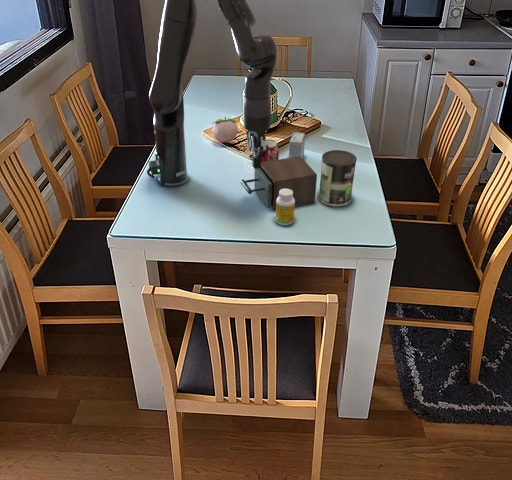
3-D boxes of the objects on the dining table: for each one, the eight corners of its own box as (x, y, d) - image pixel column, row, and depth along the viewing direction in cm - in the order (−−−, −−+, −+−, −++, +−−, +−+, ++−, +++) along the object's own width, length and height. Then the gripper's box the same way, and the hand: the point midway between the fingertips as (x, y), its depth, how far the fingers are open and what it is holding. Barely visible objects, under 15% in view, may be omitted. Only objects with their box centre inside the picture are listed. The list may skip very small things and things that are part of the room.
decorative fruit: (218, 149, 206) (217, 123, 200) (210, 140, 212) (209, 114, 205) (242, 145, 209) (242, 119, 203) (233, 136, 215) (233, 111, 209)
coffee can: (356, 195, 181) (362, 155, 172) (342, 210, 174) (347, 168, 165) (327, 187, 185) (331, 146, 177) (312, 200, 178) (316, 159, 170)
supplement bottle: (277, 226, 166) (278, 197, 160) (273, 216, 170) (275, 187, 165) (295, 225, 167) (297, 195, 161) (291, 215, 171) (293, 186, 165)
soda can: (262, 183, 186) (263, 149, 179) (252, 174, 191) (253, 141, 184) (281, 179, 189) (283, 145, 182) (271, 170, 194) (272, 137, 187)
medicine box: (300, 166, 197) (302, 142, 191) (288, 164, 197) (289, 141, 192) (304, 156, 203) (305, 133, 197) (291, 154, 203) (292, 131, 198)
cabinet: (273, 210, 173) (274, 181, 167) (258, 190, 183) (259, 162, 177) (314, 202, 177) (317, 174, 171) (298, 183, 187) (300, 156, 181)
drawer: (250, 210, 171) (250, 187, 166) (237, 192, 180) (237, 169, 175) (305, 200, 176) (307, 177, 171) (290, 183, 185) (292, 161, 180)
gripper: (236, 104, 163) (237, 159, 174) (252, 122, 154) (252, 179, 164) (261, 101, 165) (260, 156, 176) (278, 118, 156) (276, 175, 166)
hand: (256, 167), depth 170 cm, fingers closed
